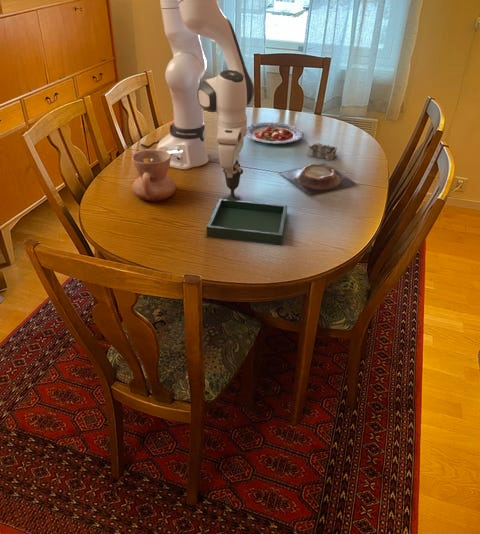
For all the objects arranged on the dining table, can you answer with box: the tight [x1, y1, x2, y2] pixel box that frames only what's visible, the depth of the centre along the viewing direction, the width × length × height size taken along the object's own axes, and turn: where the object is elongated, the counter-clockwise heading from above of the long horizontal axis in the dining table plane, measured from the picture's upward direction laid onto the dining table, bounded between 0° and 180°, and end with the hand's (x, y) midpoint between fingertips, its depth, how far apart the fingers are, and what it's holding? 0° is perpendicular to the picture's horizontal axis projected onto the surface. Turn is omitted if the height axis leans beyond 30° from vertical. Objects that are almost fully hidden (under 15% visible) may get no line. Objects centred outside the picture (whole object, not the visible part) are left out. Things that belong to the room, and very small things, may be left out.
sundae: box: [222, 162, 244, 201], centre depth 149 cm, size 7×7×15 cm
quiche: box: [280, 163, 357, 196], centre depth 166 cm, size 21×20×4 cm
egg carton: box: [308, 142, 338, 161], centre depth 184 cm, size 11×8×4 cm
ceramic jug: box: [131, 148, 177, 202], centre depth 149 cm, size 18×14×14 cm
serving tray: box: [206, 198, 288, 246], centre depth 139 cm, size 22×18×3 cm
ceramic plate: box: [245, 121, 304, 145], centre depth 200 cm, size 26×26×3 cm
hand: (232, 170), depth 147 cm, fingers open, 8 cm apart
